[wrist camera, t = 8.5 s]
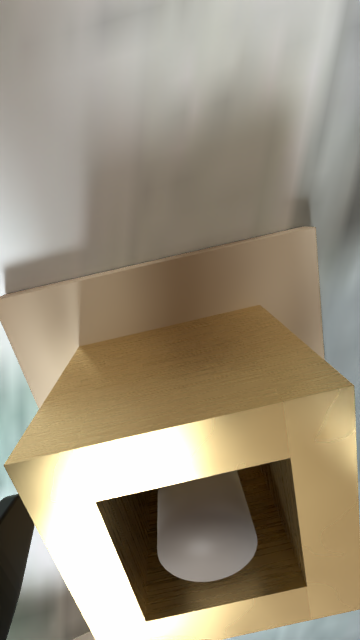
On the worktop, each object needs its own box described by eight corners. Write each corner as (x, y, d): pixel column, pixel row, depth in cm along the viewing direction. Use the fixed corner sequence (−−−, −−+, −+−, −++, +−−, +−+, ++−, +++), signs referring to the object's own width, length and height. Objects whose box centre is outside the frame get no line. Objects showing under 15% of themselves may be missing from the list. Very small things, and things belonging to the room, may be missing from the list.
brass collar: (259, 304, 10) (354, 385, 5) (280, 451, 12) (362, 608, 7) (79, 346, 10) (3, 465, 5) (129, 484, 12) (108, 664, 7)
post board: (303, 226, 10) (484, 236, 4) (322, 463, 13) (439, 641, 8) (4, 294, 10) (-186, 387, 4) (96, 513, 13) (50, 723, 8)
